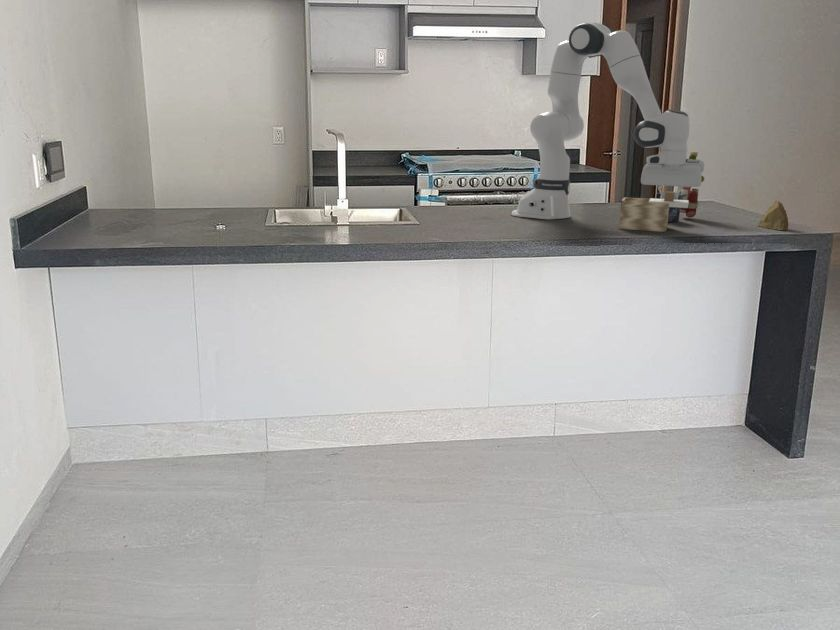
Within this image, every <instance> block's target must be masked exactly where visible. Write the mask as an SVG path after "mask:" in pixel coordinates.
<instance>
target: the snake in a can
mask: <svg viewBox="0 0 840 630" xmlns="http://www.w3.org/2000/svg"><path fill="white" fill-rule="evenodd" d="M689 153H690V154H689V156H688V159H693V160H697V157H698V153H699V152H697V151H690V152H689ZM693 163H694V162H693ZM703 182H705V177H704V176H703V175H702V174H701V183H703ZM691 188H692V189H691ZM679 190H680V189H678V188H677V191H676V192H675V193H677V192H678V191H679ZM699 190H700V189H698V188H694V187H685V186H683V187H682V191H681V192H680V193H681V194H682V197H681V200H689V203H688V208H680V213H681V214H685V216H686V217H687V218H694V217H695V216H696V215H697V209H698V205H699V200H698V199H699Z"/></svg>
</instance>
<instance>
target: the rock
mask: <svg viewBox="0 0 840 630" xmlns="http://www.w3.org/2000/svg"><path fill="white" fill-rule="evenodd" d="M757 227H760V228H763V229H770V230H778V231H788V230H789V218H788V214H787V210H786V209H785V207H784V205H783V203H781V202H780V201H779V200H775V201H774V202H773V203H772V204H771V206H770V207H769V208H768V209H767V210H766V212H765V214H764V215H762V217H761V219H760V220H759V223H758V225H757Z"/></svg>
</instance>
